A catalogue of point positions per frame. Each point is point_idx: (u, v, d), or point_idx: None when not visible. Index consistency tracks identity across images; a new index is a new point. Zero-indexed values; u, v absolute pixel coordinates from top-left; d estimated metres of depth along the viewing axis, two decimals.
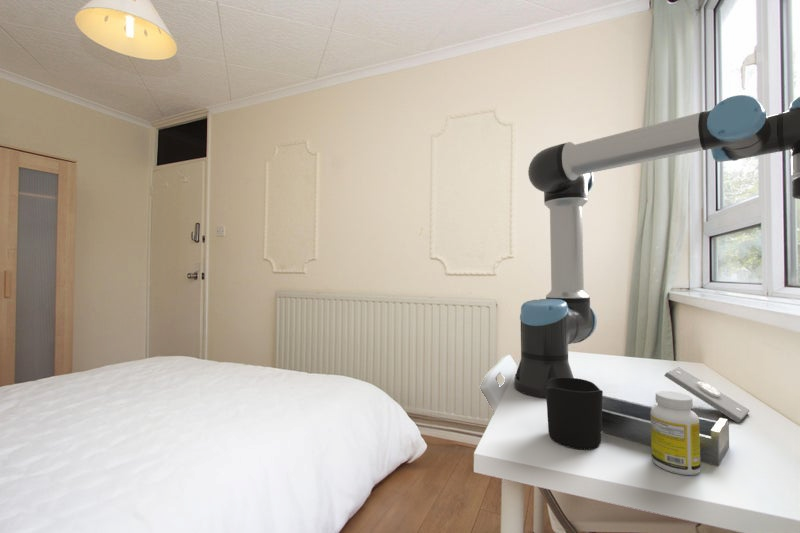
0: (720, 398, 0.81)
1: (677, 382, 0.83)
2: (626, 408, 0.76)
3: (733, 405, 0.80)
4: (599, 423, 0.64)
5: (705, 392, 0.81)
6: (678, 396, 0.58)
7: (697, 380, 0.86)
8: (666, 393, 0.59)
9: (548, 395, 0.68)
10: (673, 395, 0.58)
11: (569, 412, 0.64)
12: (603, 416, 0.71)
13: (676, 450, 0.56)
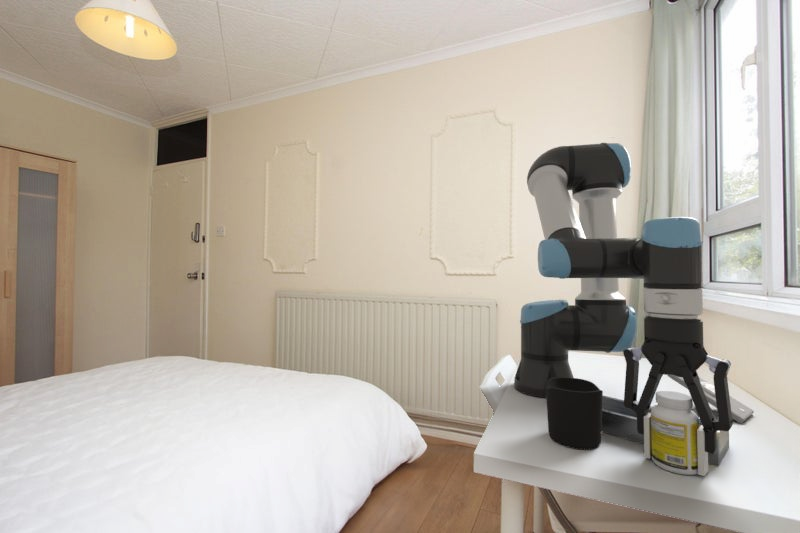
0: None
1: (680, 382, 0.83)
2: (626, 408, 0.76)
3: (737, 406, 0.79)
4: (599, 423, 0.64)
5: (708, 392, 0.81)
6: (678, 396, 0.58)
7: (701, 380, 0.86)
8: (666, 393, 0.59)
9: (548, 395, 0.68)
10: (673, 395, 0.58)
11: (569, 412, 0.64)
12: (603, 416, 0.71)
13: (676, 450, 0.56)
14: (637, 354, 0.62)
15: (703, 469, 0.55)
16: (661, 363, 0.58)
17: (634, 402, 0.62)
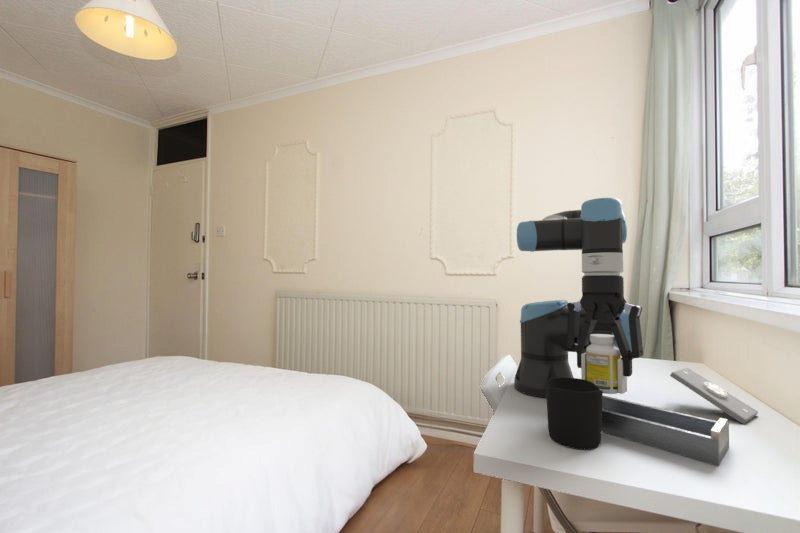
0: (727, 399, 0.80)
1: (682, 382, 0.83)
2: (626, 408, 0.76)
3: (740, 406, 0.79)
4: (599, 423, 0.64)
5: (711, 392, 0.81)
6: (606, 336, 0.75)
7: (705, 381, 0.86)
8: (598, 334, 0.77)
9: (548, 395, 0.68)
10: (602, 335, 0.76)
11: (569, 412, 0.64)
12: (603, 416, 0.71)
13: (602, 375, 0.73)
14: (577, 306, 0.79)
15: (621, 388, 0.72)
16: (593, 311, 0.75)
17: (575, 344, 0.79)
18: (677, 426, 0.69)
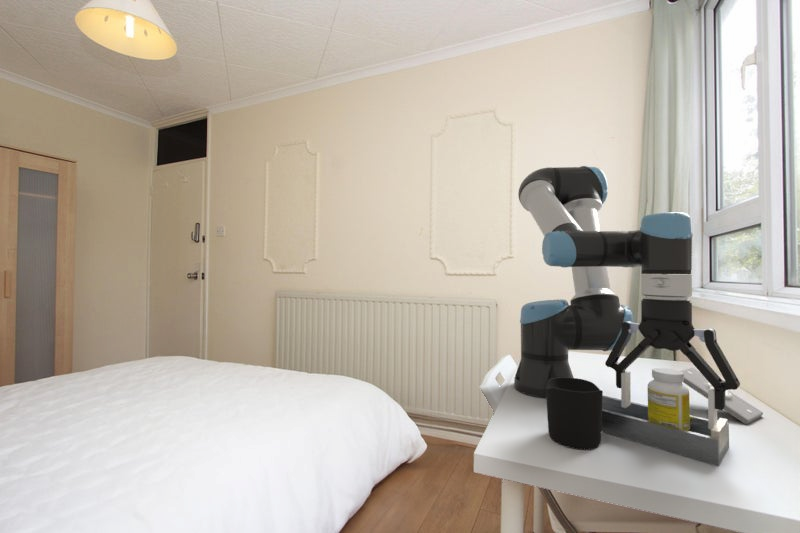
0: (731, 399, 0.80)
1: (685, 382, 0.83)
2: (626, 408, 0.76)
3: (744, 407, 0.79)
4: (599, 423, 0.64)
5: None
6: (671, 371, 0.67)
7: None
8: (661, 369, 0.68)
9: (548, 395, 0.68)
10: (667, 371, 0.67)
11: (569, 412, 0.64)
12: (603, 416, 0.71)
13: (669, 417, 0.65)
14: (633, 328, 0.71)
15: (713, 424, 0.61)
16: (653, 338, 0.68)
17: (614, 362, 0.74)
18: None
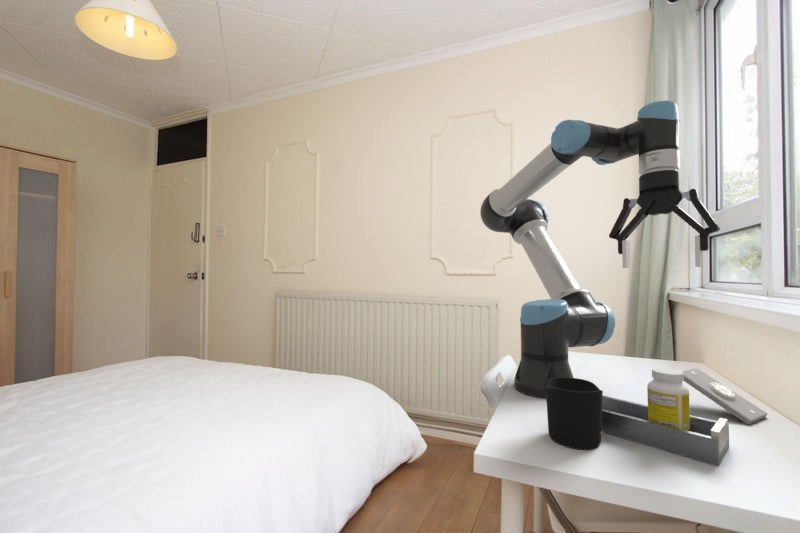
0: (734, 400, 0.80)
1: (688, 382, 0.83)
2: (626, 408, 0.76)
3: (747, 407, 0.78)
4: (599, 423, 0.64)
5: (717, 393, 0.80)
6: (671, 371, 0.67)
7: (713, 381, 0.85)
8: (661, 369, 0.68)
9: (548, 395, 0.68)
10: (667, 371, 0.67)
11: (569, 412, 0.64)
12: (603, 416, 0.71)
13: (669, 417, 0.65)
14: (633, 203, 0.87)
15: (699, 262, 0.77)
16: (648, 205, 0.83)
17: (616, 234, 0.89)
18: None
